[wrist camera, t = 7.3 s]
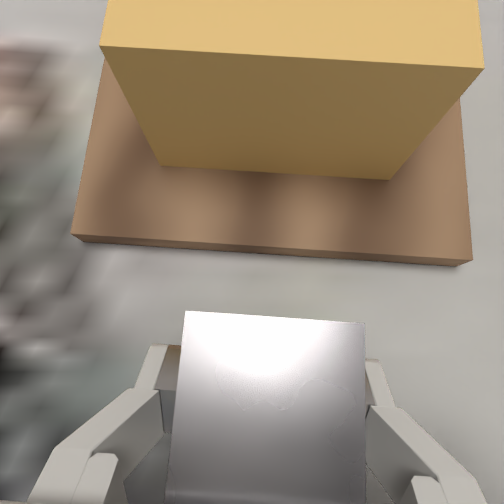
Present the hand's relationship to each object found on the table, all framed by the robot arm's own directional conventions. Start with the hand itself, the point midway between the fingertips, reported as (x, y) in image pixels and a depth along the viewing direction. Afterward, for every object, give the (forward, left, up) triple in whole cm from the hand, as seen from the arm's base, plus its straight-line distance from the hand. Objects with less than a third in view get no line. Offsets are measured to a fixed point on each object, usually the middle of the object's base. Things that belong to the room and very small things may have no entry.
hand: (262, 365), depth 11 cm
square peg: (0, -1, -6) cm, 6 cm away
